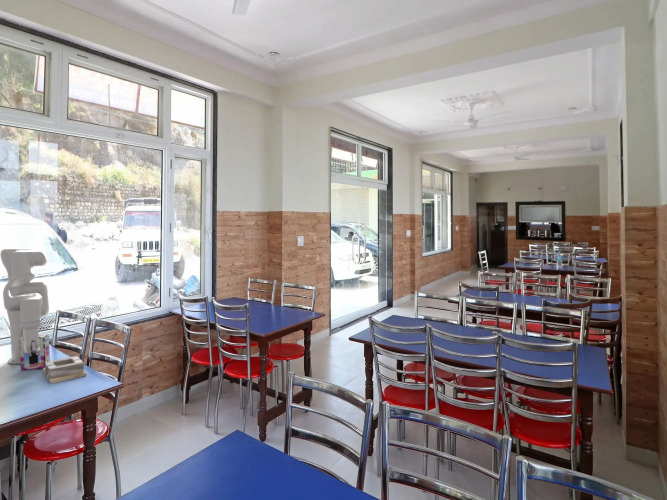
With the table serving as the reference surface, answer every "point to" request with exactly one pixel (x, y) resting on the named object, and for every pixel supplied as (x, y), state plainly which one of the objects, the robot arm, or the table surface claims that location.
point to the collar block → (64, 369)
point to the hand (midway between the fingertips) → (32, 361)
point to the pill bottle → (26, 359)
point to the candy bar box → (43, 351)
